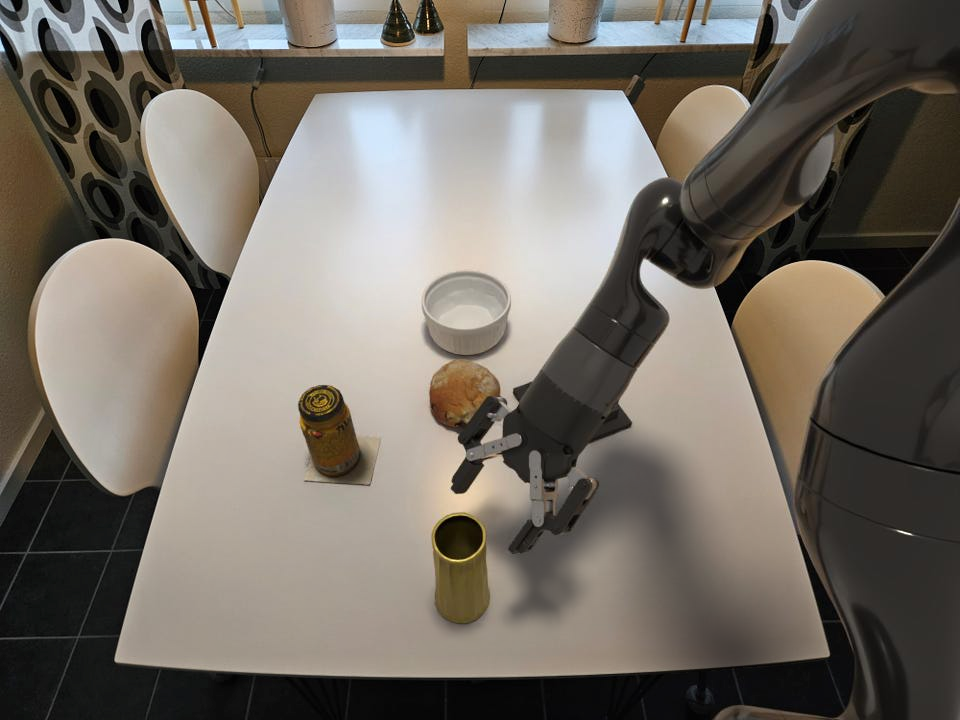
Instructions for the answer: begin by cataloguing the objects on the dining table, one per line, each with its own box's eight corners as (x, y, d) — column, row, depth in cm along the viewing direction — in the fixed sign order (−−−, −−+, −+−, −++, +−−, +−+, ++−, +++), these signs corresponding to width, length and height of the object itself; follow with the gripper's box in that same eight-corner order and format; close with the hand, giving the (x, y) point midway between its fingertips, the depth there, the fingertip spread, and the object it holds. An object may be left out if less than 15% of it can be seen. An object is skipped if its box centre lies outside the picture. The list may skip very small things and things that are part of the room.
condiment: (318, 434, 87) (299, 376, 78) (381, 438, 86) (369, 380, 77) (304, 481, 82) (282, 424, 73) (370, 486, 81) (356, 429, 72)
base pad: (631, 426, 87) (635, 413, 85) (553, 457, 84) (555, 444, 82) (586, 366, 95) (588, 352, 93) (512, 392, 91) (513, 378, 89)
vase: (499, 586, 73) (502, 525, 62) (471, 635, 69) (469, 579, 58) (453, 560, 75) (448, 497, 64) (424, 606, 71) (413, 547, 61)
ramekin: (414, 312, 103) (410, 279, 97) (492, 294, 105) (493, 260, 100) (438, 371, 94) (435, 338, 89) (522, 349, 97) (524, 316, 92)
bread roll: (504, 409, 94) (512, 359, 91) (485, 442, 85) (493, 388, 82) (440, 393, 96) (446, 344, 93) (415, 424, 87) (420, 370, 84)
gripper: (505, 339, 60) (417, 474, 64) (622, 432, 53) (515, 579, 57) (542, 350, 67) (460, 473, 70) (651, 435, 60) (553, 567, 63)
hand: (485, 520), depth 63 cm, fingers open, 8 cm apart
